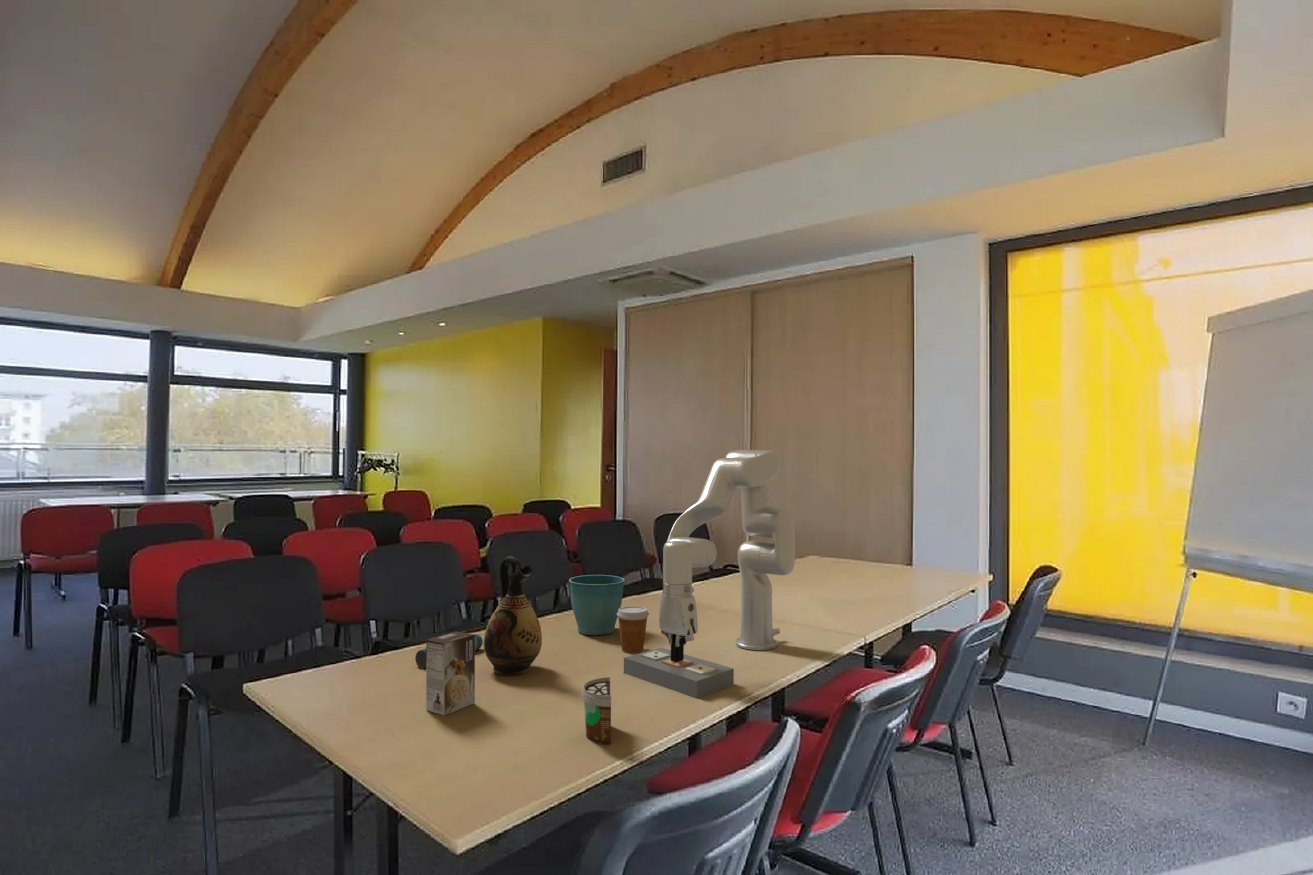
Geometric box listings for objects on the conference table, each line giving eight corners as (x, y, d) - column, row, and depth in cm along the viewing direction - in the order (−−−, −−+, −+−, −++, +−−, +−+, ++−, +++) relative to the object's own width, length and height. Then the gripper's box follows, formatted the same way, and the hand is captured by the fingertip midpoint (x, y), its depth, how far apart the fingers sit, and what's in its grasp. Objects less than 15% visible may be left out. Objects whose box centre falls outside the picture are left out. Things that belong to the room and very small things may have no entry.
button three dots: (677, 669, 182) (677, 656, 182) (692, 674, 178) (692, 660, 178) (662, 674, 178) (662, 660, 178) (677, 679, 174) (677, 665, 174)
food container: (581, 723, 148) (581, 677, 148) (609, 723, 148) (610, 676, 149) (579, 748, 136) (580, 697, 136) (610, 747, 136) (611, 696, 136)
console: (661, 661, 192) (661, 647, 192) (733, 684, 174) (733, 668, 174) (623, 672, 182) (623, 657, 182) (696, 698, 164) (696, 681, 164)
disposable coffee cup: (611, 652, 201) (611, 611, 201) (624, 644, 210) (624, 604, 210) (640, 656, 197) (641, 614, 198) (653, 647, 206) (653, 607, 206)
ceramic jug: (553, 669, 185) (554, 558, 185) (505, 683, 173) (506, 564, 174) (516, 657, 196) (517, 551, 197) (468, 669, 185) (469, 557, 186)
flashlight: (414, 667, 187) (414, 648, 187) (473, 647, 206) (473, 631, 206) (427, 670, 185) (427, 651, 185) (485, 650, 203) (485, 633, 204)
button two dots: (655, 663, 188) (655, 650, 188) (670, 667, 184) (670, 654, 184) (641, 667, 184) (641, 654, 184) (655, 672, 180) (655, 658, 180)
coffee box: (456, 698, 163) (457, 630, 163) (475, 703, 159) (476, 634, 160) (424, 710, 155) (425, 639, 155) (444, 716, 152) (445, 643, 152)
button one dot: (699, 677, 176) (699, 662, 176) (715, 682, 172) (715, 667, 172) (685, 681, 172) (685, 667, 172) (701, 687, 168) (701, 672, 169)
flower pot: (593, 621, 237) (594, 572, 238) (635, 630, 227) (635, 578, 227) (557, 632, 223) (557, 580, 223) (599, 642, 212) (599, 586, 213)
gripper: (708, 591, 176) (708, 664, 175) (667, 583, 186) (666, 651, 186) (688, 595, 170) (688, 670, 170) (647, 587, 181) (646, 657, 181)
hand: (677, 660), depth 178 cm, fingers closed
